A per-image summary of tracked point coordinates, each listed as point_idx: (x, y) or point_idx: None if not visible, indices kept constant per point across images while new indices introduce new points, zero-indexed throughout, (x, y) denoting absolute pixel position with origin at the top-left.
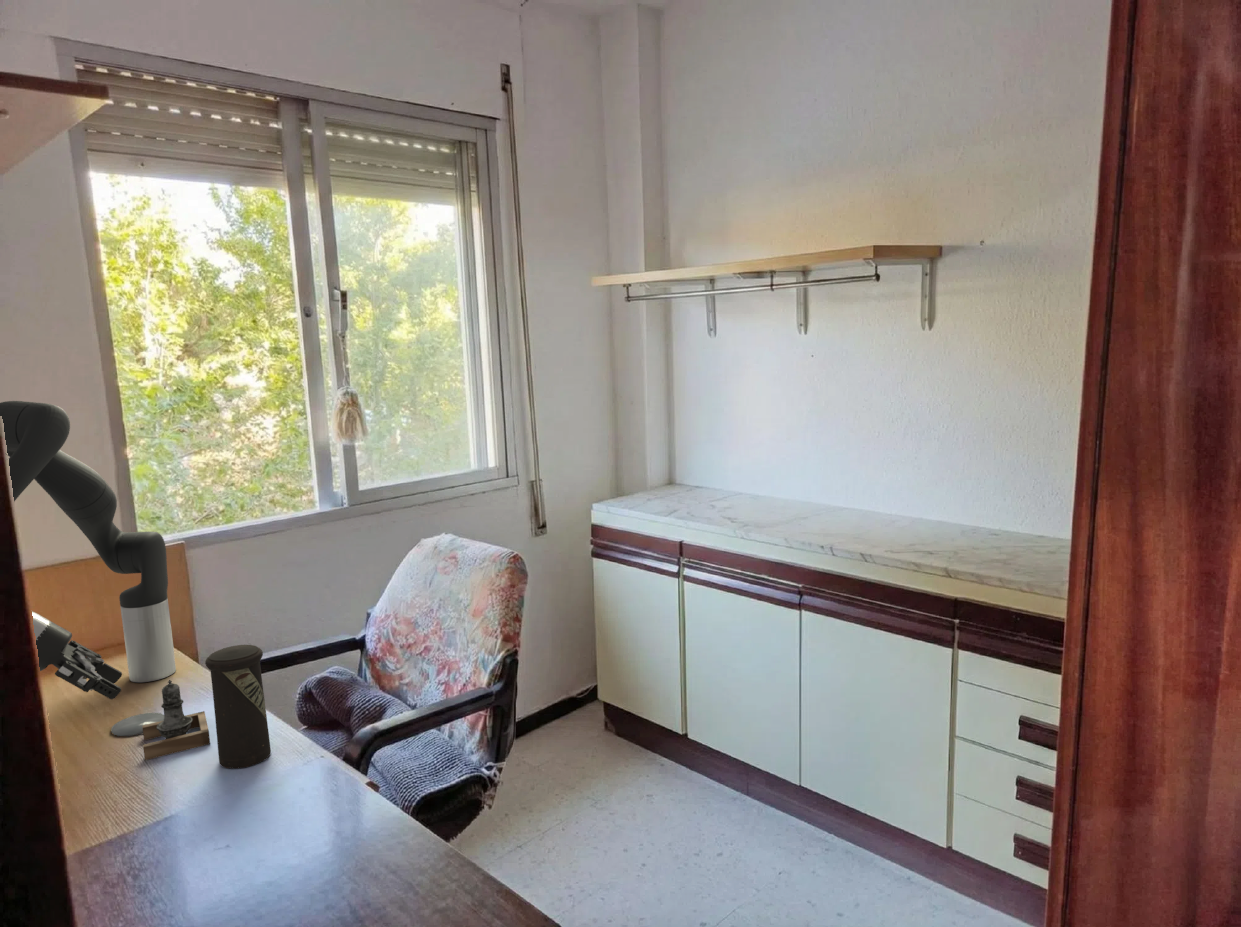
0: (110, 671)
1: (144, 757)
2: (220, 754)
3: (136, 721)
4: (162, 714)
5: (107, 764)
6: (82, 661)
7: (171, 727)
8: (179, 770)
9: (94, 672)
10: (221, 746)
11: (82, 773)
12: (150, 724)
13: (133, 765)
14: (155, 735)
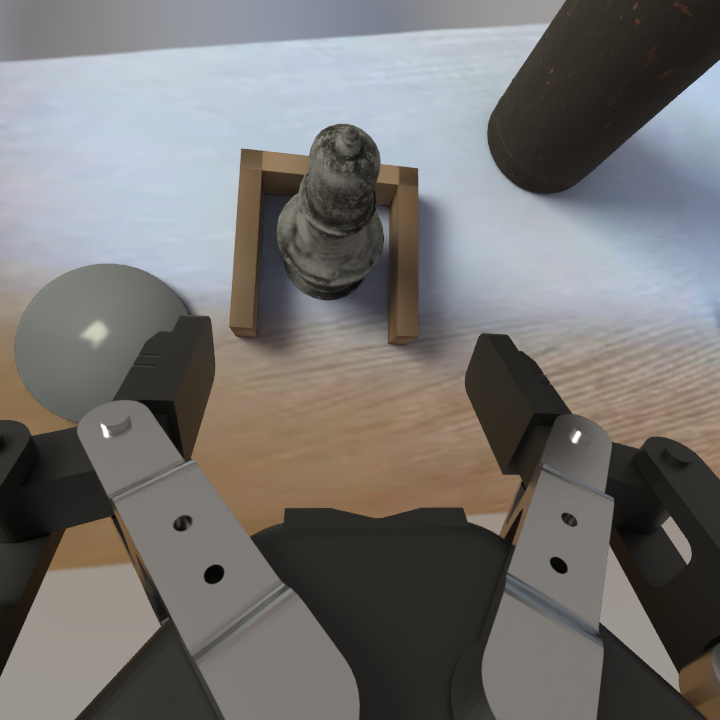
0: (197, 373)
1: (408, 342)
2: (580, 174)
3: (85, 346)
4: (83, 268)
5: (365, 435)
6: (599, 596)
7: (373, 246)
8: (517, 276)
9: (574, 467)
10: (605, 156)
11: (383, 498)
12: (239, 303)
13: (417, 372)
14: (257, 304)
